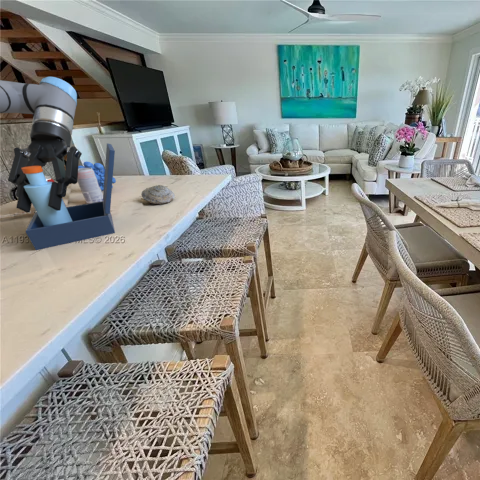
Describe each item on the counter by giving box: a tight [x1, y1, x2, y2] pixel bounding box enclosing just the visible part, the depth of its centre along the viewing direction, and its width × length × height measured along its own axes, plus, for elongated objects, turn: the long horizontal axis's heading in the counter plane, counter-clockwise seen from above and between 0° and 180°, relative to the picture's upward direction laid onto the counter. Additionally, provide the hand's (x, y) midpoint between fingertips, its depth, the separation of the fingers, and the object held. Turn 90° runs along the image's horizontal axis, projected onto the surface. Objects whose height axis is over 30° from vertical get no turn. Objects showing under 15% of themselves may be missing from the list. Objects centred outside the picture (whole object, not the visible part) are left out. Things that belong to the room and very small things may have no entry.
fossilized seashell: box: [141, 184, 176, 205], centre depth 97 cm, size 11×11×7 cm
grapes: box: [78, 161, 117, 192], centre depth 106 cm, size 12×7×12 cm, turn 119°
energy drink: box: [77, 168, 103, 204], centre depth 94 cm, size 5×5×12 cm
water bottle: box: [21, 166, 73, 227], centre depth 67 cm, size 6×6×16 cm
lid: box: [102, 143, 116, 214], centre depth 72 cm, size 16×16×1 cm
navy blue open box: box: [25, 201, 116, 251], centre depth 72 cm, size 16×16×6 cm
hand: (39, 208), depth 64 cm, fingers closed on water bottle, 6 cm apart
